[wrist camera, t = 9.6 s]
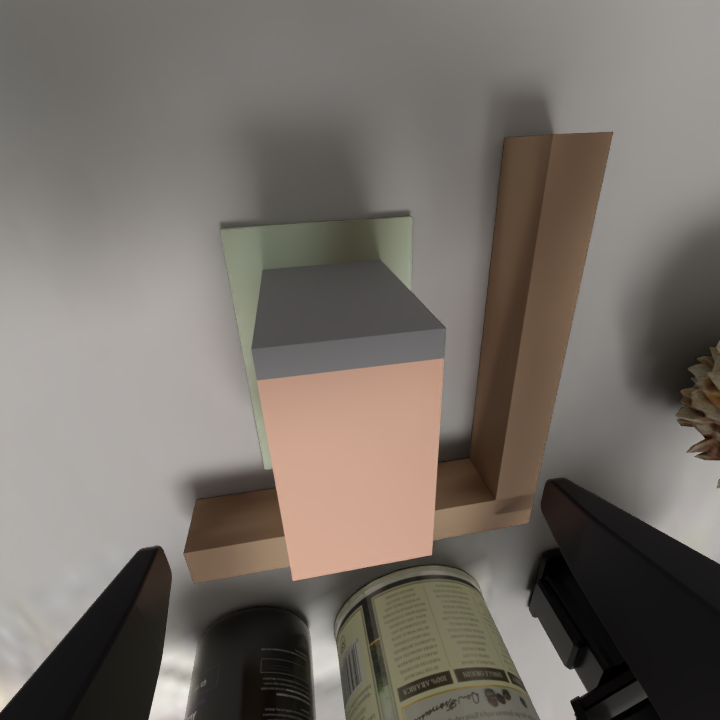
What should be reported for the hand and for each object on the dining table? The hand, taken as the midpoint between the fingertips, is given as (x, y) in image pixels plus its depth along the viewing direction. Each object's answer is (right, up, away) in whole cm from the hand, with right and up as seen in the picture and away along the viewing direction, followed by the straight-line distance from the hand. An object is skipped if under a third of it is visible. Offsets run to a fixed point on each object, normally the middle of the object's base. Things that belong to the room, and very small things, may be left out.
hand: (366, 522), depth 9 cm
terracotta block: (-1, +4, +8) cm, 9 cm away
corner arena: (0, +4, +8) cm, 9 cm away
